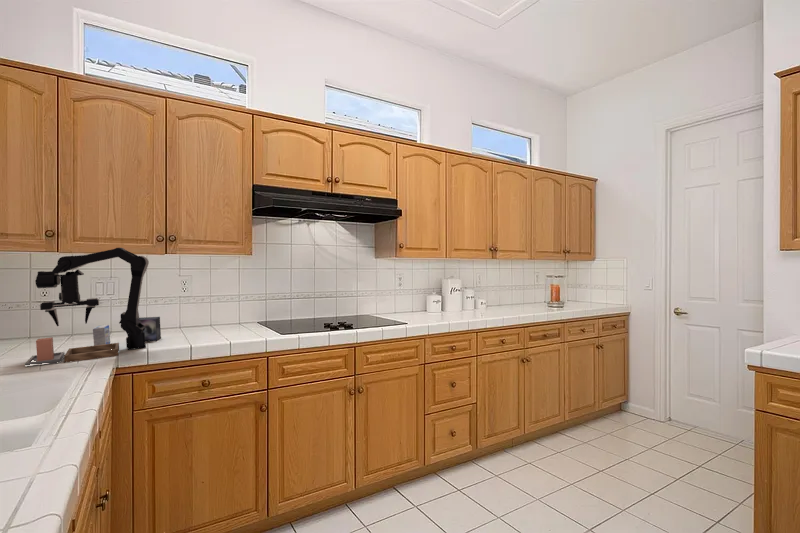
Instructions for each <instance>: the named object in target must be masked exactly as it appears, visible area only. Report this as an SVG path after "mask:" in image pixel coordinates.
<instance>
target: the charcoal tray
mask: <svg viewBox="0 0 800 533" xmlns="http://www.w3.org/2000/svg"><path fill="white" fill-rule="evenodd" d="M65 354H66V352H65V351H59V352H54V358H53V359H52V360H44V361H37V354H36V355H32V356H30V357H29V359H27V361H26V362H25V363H24V366H25V365H30V364H42V363H55V364H58V363H57V362H60V361H61V362H62V361H63V359H64V355H65ZM32 360H34V361H36V362H31V361H32ZM61 362H60V363H61Z"/></svg>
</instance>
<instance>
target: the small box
mask: <svg viewBox="0 0 800 533" xmlns="http://www.w3.org/2000/svg"><path fill="white" fill-rule="evenodd" d="M139 322H140V323H141V324H143V325H144V326H145V330H144V331H143V332H145V343H146V342H157V341H160V339H162V333H161V331H162V330H161V316H149V317H148V316H147V317H139Z"/></svg>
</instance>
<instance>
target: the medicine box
mask: <svg viewBox="0 0 800 533" xmlns="http://www.w3.org/2000/svg"><path fill="white" fill-rule="evenodd" d="M110 333H111V332H110V325H109V324H103V325H98V326H96V327H94V328H92V337H93V338H92V339H93V346H95V345H103V344H111V334H110Z"/></svg>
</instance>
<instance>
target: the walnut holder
mask: <svg viewBox="0 0 800 533" xmlns="http://www.w3.org/2000/svg"><path fill="white" fill-rule="evenodd" d="M111 349H112V350H111ZM118 351H120V343H119V342H114V343H113V342H112V343H111V342H110V344H103V345H95V346H94V345H87V346H79V347H71V348H68V350H67V351H66V352H65V355H64V357H63V359H64V363H70V361H72V362H79V361H88V360H94V359H100V358H101V359H102V358H107V357H109V358H110V357H116V356H117V357H118V356H119V353H118Z"/></svg>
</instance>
